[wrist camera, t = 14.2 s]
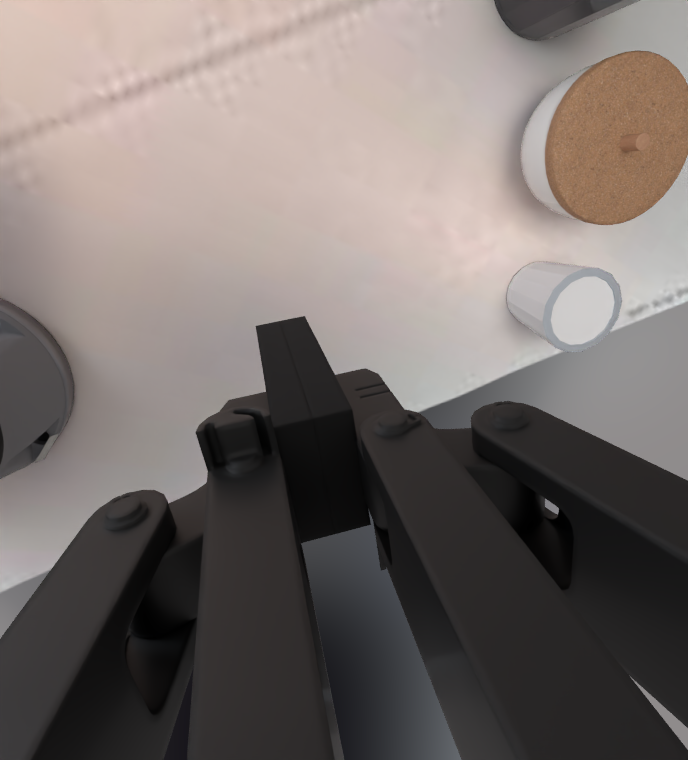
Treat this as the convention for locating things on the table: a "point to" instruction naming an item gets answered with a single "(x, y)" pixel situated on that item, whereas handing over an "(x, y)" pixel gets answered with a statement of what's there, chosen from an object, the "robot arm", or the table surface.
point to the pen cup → (553, 15)
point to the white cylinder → (565, 303)
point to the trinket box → (608, 139)
